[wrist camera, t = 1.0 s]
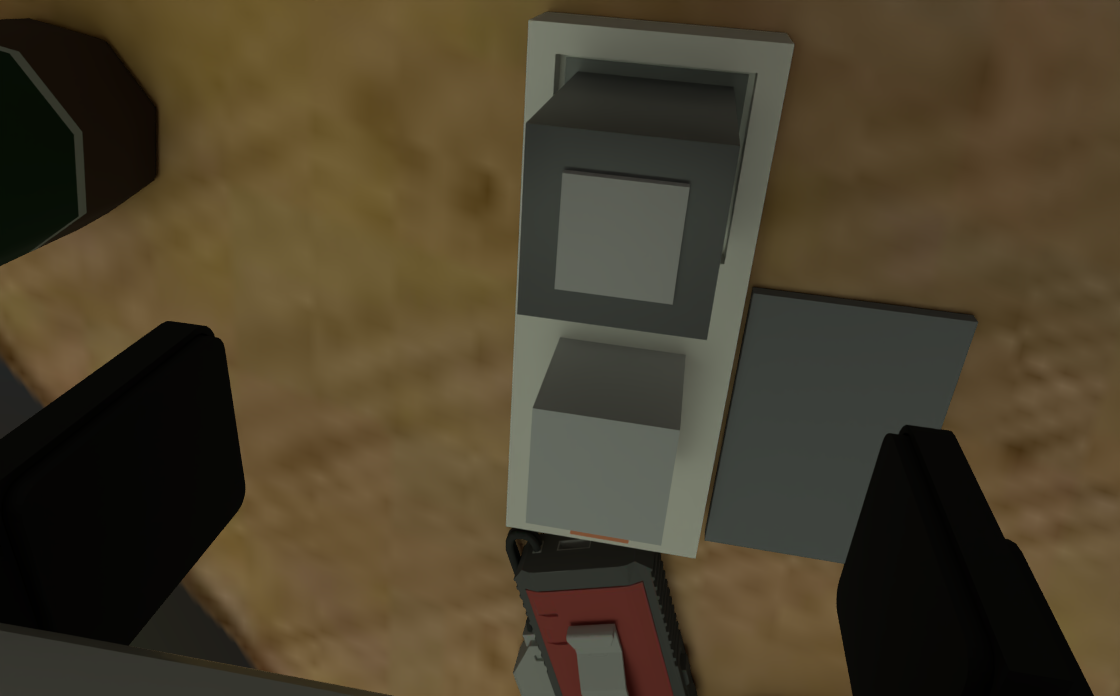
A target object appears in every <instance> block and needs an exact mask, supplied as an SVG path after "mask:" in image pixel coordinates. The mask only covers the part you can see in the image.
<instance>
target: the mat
mask: <svg viewBox="0 0 1120 696" xmlns="http://www.w3.org/2000/svg"><path fill="white" fill-rule="evenodd" d="M977 324H978V321H977V320H976V318H975V317H974V315H967V314H959V313H952V312H944V311H936V310H928V309H920V308H913V307H905V306H897V305H889V304H881V303H873V302H866V301H858V300H850V299H842V298H834V297H826V296H819V295H811V294H803V293H795V292H787V291H780V290H772V289H764V288H756V287H753V289H752V294H751V299H750V304H749V309H748V314H747V319H746V324H745V330H744V335H743V340H742V345H741V350H740V355H739V360H738V365H737V370H736V375H735V381H734V386H733V391H732V396H731V401H730V406H729V411H728V416H727V421H726V427H725V432H724V437H723V442H722V447H721V452H720V457H719V462H718V467H717V472H716V478H715V483H714V488H713V493H712V498H711V503H710V508H709V513H708V518H707V523H706V529H705V541H711V542H717V543H723V544H729V545H735V546H741V547H747V548H753V549H759V550H765V551H771V552H777V553H783V554H789V555H795V556H801V557H807V558H813V559H819V560H825V561H831V562H837V563H843V564H845V561H846V558H847V554H848V551H849V548H850V545H851V541H852V538H853V535H854V532H855V528H856V525H857V522H858V519H859V516H860V512H861V509H862V506H863V503H864V499H865V496H866V493H867V490H868V486H869V483H870V480H871V477H872V474H873V470H874V467H875V464H876V461H877V457H878V454H879V451H880V448H881V444H882V442H883V439H884V437H885V436H886V434H888V433H893V434H899V431H900V430H901V428H902V427H903V426H905V425H913V426H920V427H927V428H935V429H941V427H942V424H943V422H944V419H945V416H946V413H947V410H948V407H949V404H950V401H951V399H952V396H953V393H954V390H955V387H956V384H957V381H958V378H959V376H960V373H961V370H962V367H963V364H964V361H965V358H966V355H967V353H968V350H969V347H970V344H971V341H972V338H973V335H974V333H975V330H976V327H977Z"/></svg>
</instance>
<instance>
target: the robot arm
mask: <svg viewBox="0 0 1120 696" xmlns="http://www.w3.org/2000/svg"><path fill="white" fill-rule="evenodd" d="M244 496H245V480H244V473H243V466H242V460H241V453H240V446H239V440H238V433H237V426H236V420H235V413H234V406H233V400H232V393H231V387H230V380H229V373H228V367H227V360H226V353H225V348H224V344H223V342H222V341H221V339H219V338H217V337H215V336H214V333H213V332H212V330H211V329H210V328H208V327H207V326H202V325H195V324H187V323H180V322H173V321H166V322H164V323H162V324H160V325H159V326H158V327H156V328H155V329H153V330H152V331H151V332H149V333H148V334H146V335H145V336H144V337H142V338H141V339H139V340H138V341H137V342H135V343H134V344H132V345H131V346H130V347H128V348H127V349H126V350H124V351H123V352H121V353H120V354H119V355H117V356H116V357H114V358H113V359H112V360H110V361H109V362H107V363H106V364H105V365H103V366H102V367H100V368H99V369H98V370H96V371H95V372H93V373H92V374H91V375H89V376H88V377H87V378H85V379H84V380H82V381H81V382H80V383H78V384H77V385H75V386H74V387H73V388H71V389H70V390H68V391H67V392H66V393H64V394H63V395H61V396H60V397H59V398H57V399H56V400H54V401H53V402H52V403H50V404H49V405H48V406H46V407H45V408H43V409H42V410H41V411H39V412H38V413H36V414H35V415H34V416H32V417H31V418H29V419H28V420H27V421H25V422H24V423H22V424H21V425H20V426H18V427H17V428H15V429H14V430H13V431H11V432H10V433H9V434H7V435H6V436H5V437H3V438H2V439H0V696H392V695H387V694H382V693H376V692H371V691H366V690H361V689H356V688H350V687H345V686H340V685H335V684H329V683H324V682H319V681H314V680H308V679H303V678H298V677H293V676H287V675H282V674H277V673H272V672H266V671H261V670H256V669H250V668H245V667H240V666H234V665H229V664H223V663H218V662H213V661H207V660H202V659H197V658H191V657H186V656H180V655H175V654H169V653H164V652H159V651H153V650H147V649H142V648H137V647H131V646H129V644H130V643H131V642H132V641H133V640H134V638H135V637H136V636H137V635H138V633H139V632H140V631H141V630H142V628H143V627H144V626H145V625H146V624H147V622H148V621H149V620H150V619H151V617H152V616H153V615H154V614H155V612H156V611H157V610H158V609H159V608H160V606H161V605H162V604H163V602H164V601H165V600H166V598H168V596H169V595H170V594H171V593H172V592H173V590H174V589H175V588H176V587H177V585H178V584H179V583H180V582H181V580H182V579H183V578H184V577H185V576H186V574H187V573H188V572H189V571H190V569H191V568H192V567H193V566H194V564H195V563H196V562H197V561H198V560H199V558H200V557H201V556H202V555H203V553H204V552H205V551H206V550H207V548H208V547H209V546H210V545H211V544H212V542H213V541H214V540H215V539H216V537H217V536H218V535H219V534H220V532H221V531H222V530H223V529H224V528H225V526H226V525H227V524H228V523H229V521H230V520H231V519H232V518H233V516H234V515H235V514H236V513H237V512H238V510H239V508H240V507H241V505H242V502H243V499H244ZM837 613H838V619H839V624H840V630H841V635H842V640H843V646H844V651H845V656H846V662H847V667H848V673H849V678H850V683H851V689H852V694H853V696H1094V695H1093V693H1092V691H1091V689H1090V687H1089V685H1088V683H1087V681H1086V679H1085V677H1084V675H1083V673H1082V671H1081V669H1080V667H1079V665H1078V663H1077V661H1076V659H1075V657H1074V655H1073V653H1072V651H1071V649H1070V647H1069V645H1068V643H1067V641H1066V639H1065V637H1064V635H1063V633H1062V631H1061V629H1060V627H1059V625H1058V623H1057V621H1056V619H1055V617H1054V615H1053V613H1052V611H1051V609H1050V607H1049V605H1048V603H1047V601H1046V599H1045V597H1044V595H1043V593H1042V591H1041V589H1040V587H1039V585H1038V583H1037V581H1036V579H1035V577H1034V575H1033V573H1032V571H1031V569H1030V567H1029V565H1028V563H1027V561H1026V559H1025V557H1024V555H1023V553H1022V552H1021V550H1020V549H1019V547H1018V546H1017V544H1016V543H1014V542H1012V541H1011V540H1009V539H1005V538H1004V536H1003V534H1002V532H1001V530H1000V528H999V526H998V523H997V521H996V519H995V517H994V515H993V513H992V511H991V509H990V507H989V505H988V503H987V501H986V499H985V497H984V495H983V492H982V490H981V488H980V486H979V484H978V482H977V480H976V478H975V476H974V474H973V472H972V470H971V468H970V466H969V464H968V461H967V459H966V457H965V455H964V453H963V451H962V449H961V447H960V445H959V443H958V441H957V439H956V437H955V435H954V434H953V432H952V431H948V430H942V429H935V428H927V427H920V426H913V425H905V426H903V427H902V428H901V430H900V431H899V434H893V433H888V434H886V436H885V437H884V439H883V442H882V444H881V448H880V451H879V454H878V457H877V461H876V464H875V467H874V470H873V474H872V477H871V480H870V483H869V486H868V490H867V493H866V496H865V499H864V503H863V506H862V509H861V512H860V516H859V519H858V522H857V525H856V528H855V532H854V535H853V538H852V541H851V545H850V548H849V551H848V554H847V558H846V561H845V564H844V567H843V570H842V574H841V577H840V580H839V584H838V589H837Z"/></svg>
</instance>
